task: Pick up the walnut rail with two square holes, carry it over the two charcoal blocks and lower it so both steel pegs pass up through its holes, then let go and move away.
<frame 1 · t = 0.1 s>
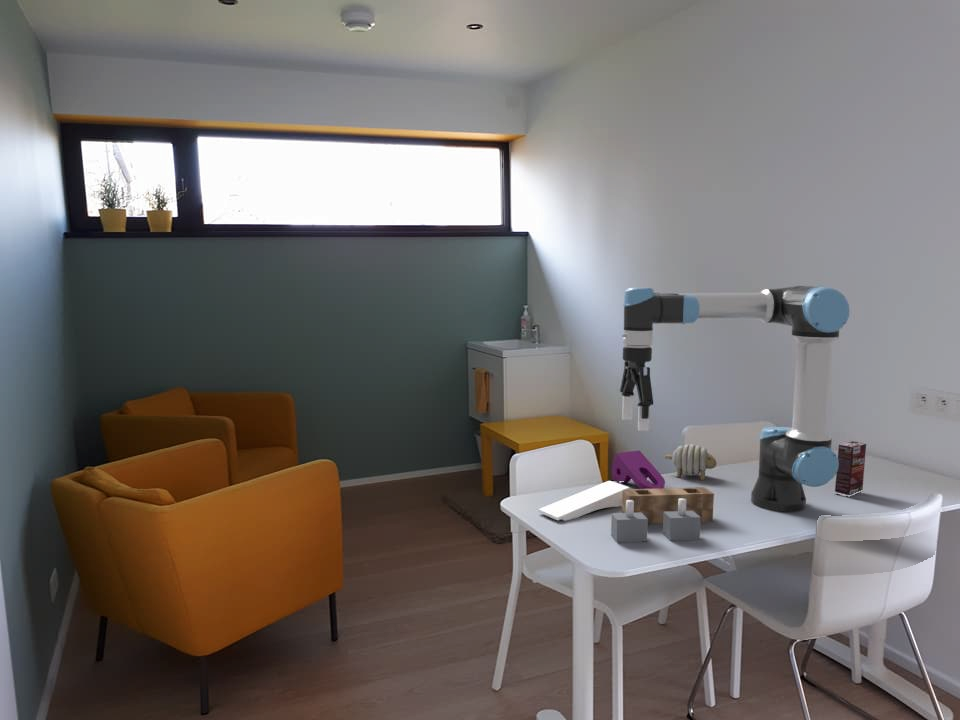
hand: (635, 424, 193), 28 cm above the table, tool pointing down, fingers open, 13 cm apart
toy sheep: (690, 477, 243), on the table
walnut rail: (666, 519, 201), on the table
peg blocks: (655, 537, 187), on the table
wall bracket: (585, 511, 209), on the table
supplement box: (848, 494, 224), on the table
mounting bracket: (640, 486, 233), on the table
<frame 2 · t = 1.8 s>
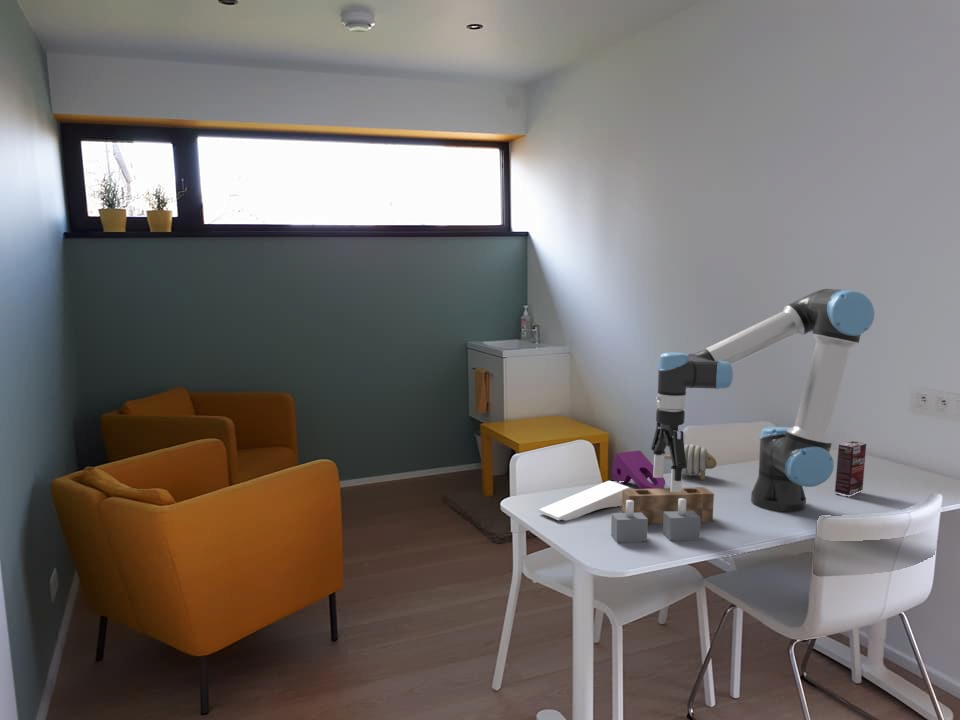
hand: (666, 484, 200), 10 cm above the table, tool pointing down, fingers open, 13 cm apart
nothing on the table moved.
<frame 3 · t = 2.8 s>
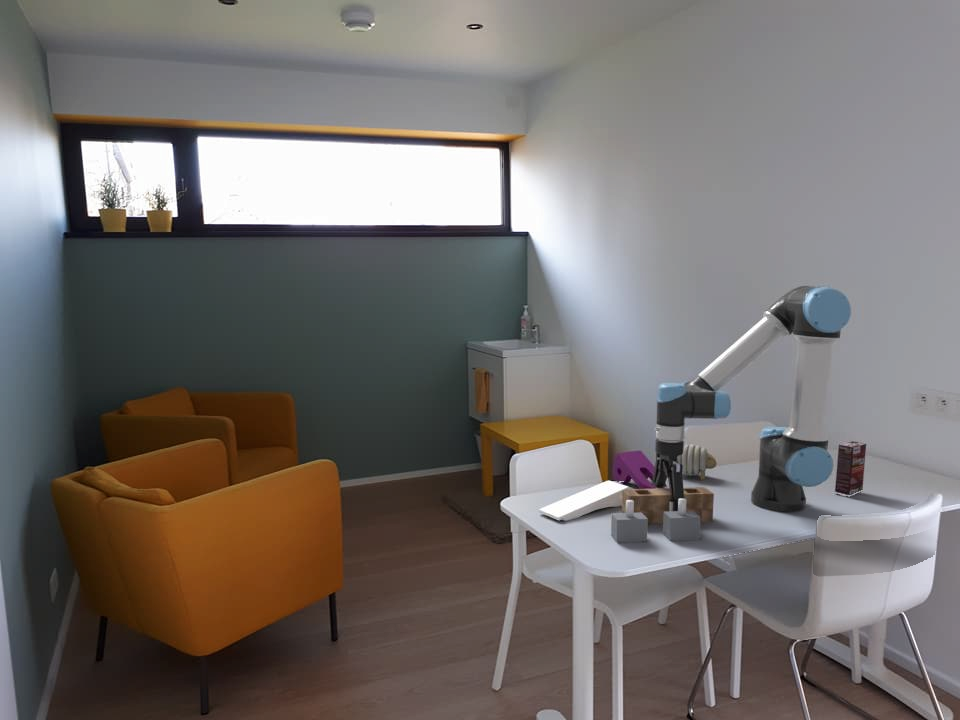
hand: (666, 516, 201), 1 cm above the table, tool pointing down, fingers open, 10 cm apart
nothing on the table moved.
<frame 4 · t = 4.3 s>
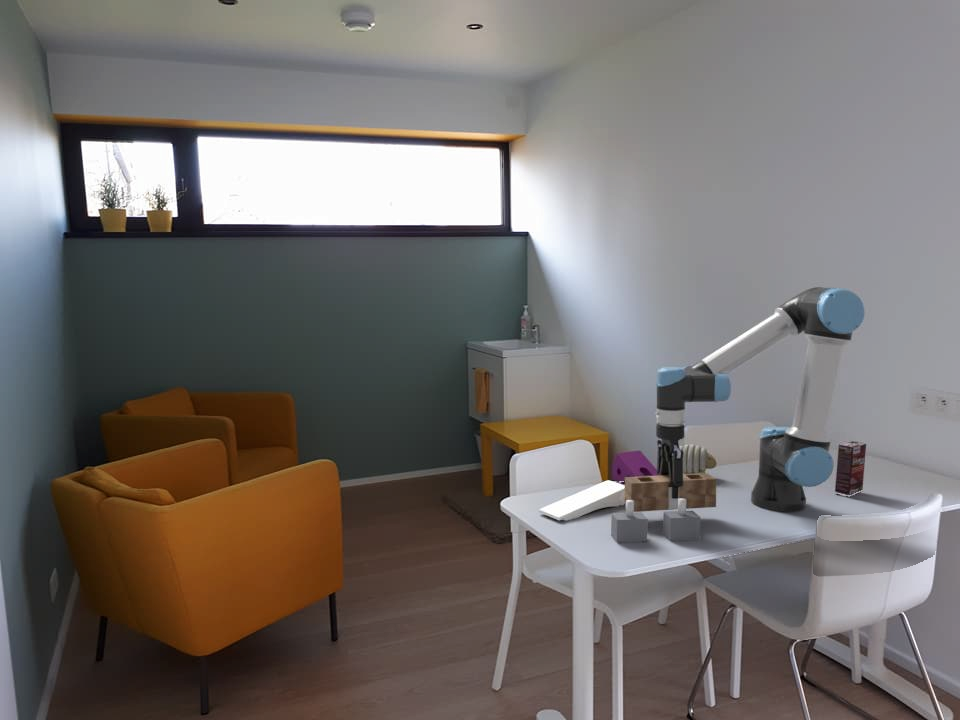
hand: (669, 504, 200), 4 cm above the table, tool pointing down, fingers closed on walnut rail, 6 cm apart
walnut rail: (669, 505, 200), point 4 cm above the table, touching gripper
everything else where it was.
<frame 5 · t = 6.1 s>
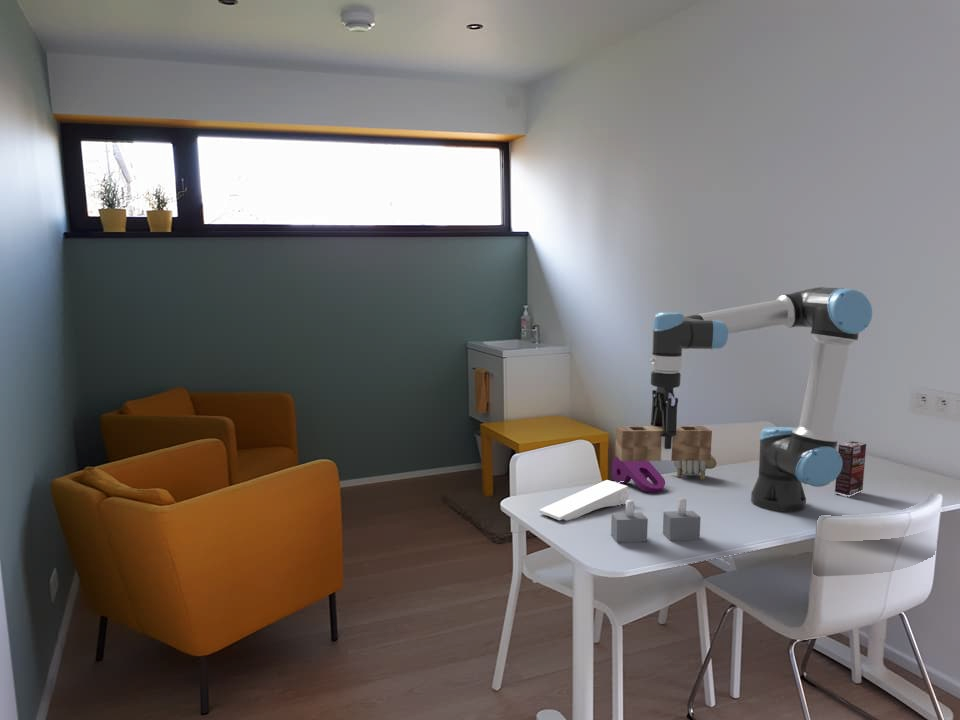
hand: (661, 456, 192), 20 cm above the table, tool pointing down, fingers closed on walnut rail, 6 cm apart
walnut rail: (662, 457, 192), point 19 cm above the table, touching gripper
everything else where it was.
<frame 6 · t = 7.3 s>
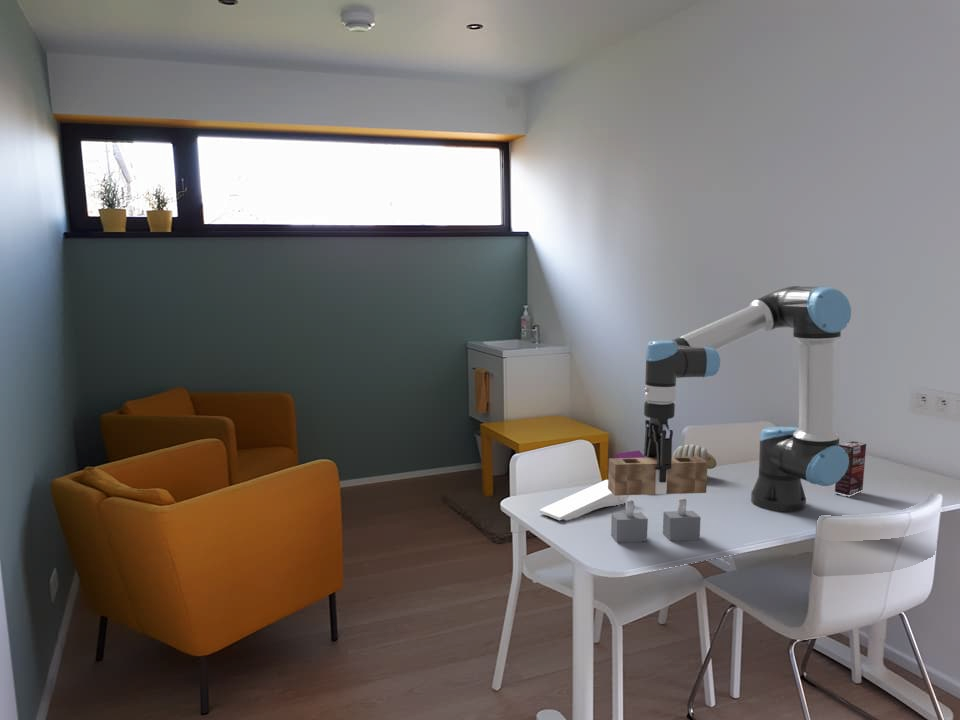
hand: (656, 489, 186), 13 cm above the table, tool pointing down, fingers closed on walnut rail, 6 cm apart
walnut rail: (656, 490, 186), point 13 cm above the table, touching gripper
everything else where it was.
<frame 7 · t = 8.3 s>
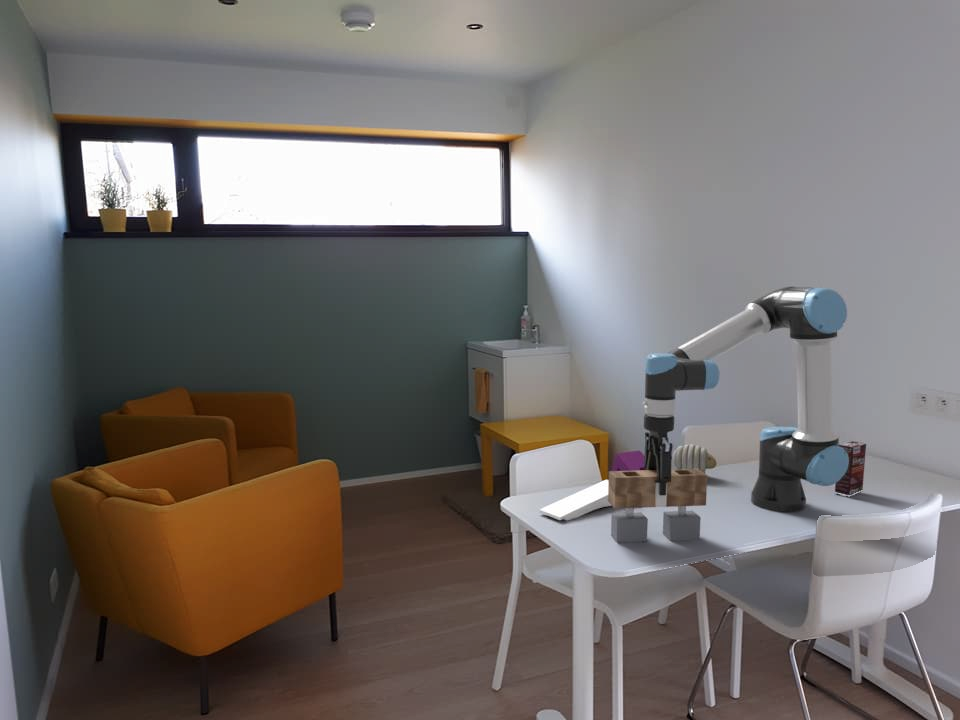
hand: (655, 502, 186), 9 cm above the table, tool pointing down, fingers closed on walnut rail, 6 cm apart
walnut rail: (656, 503, 186), point 9 cm above the table, touching gripper
everything else where it was.
when the fingers open (7 cm above the table, at t = 9.0 s): walnut rail stays where it is, resting on peg blocks.
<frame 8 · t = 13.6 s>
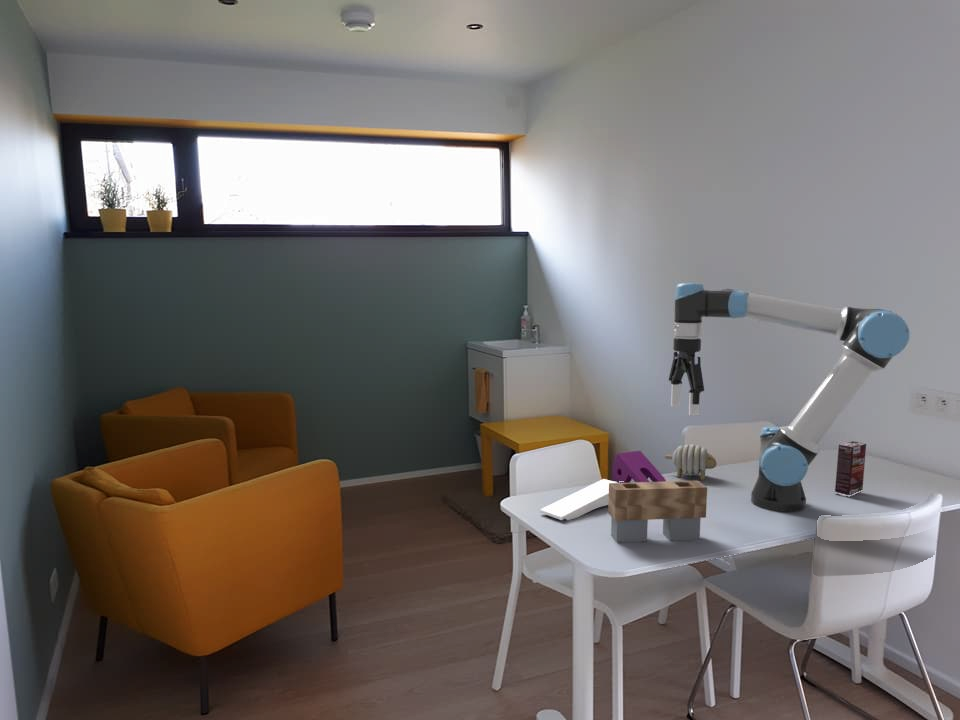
hand: (684, 410, 208), 29 cm above the table, tool pointing down, fingers open, 13 cm apart
walnut rail: (656, 515, 187), point 6 cm above the table, touching peg blocks
at the end: walnut rail 0.2 cm off-centre on the peg blocks, point 6.0 cm above the peg blocks's base; walnut rail tilted 0°; the gripper is holding nothing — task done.
